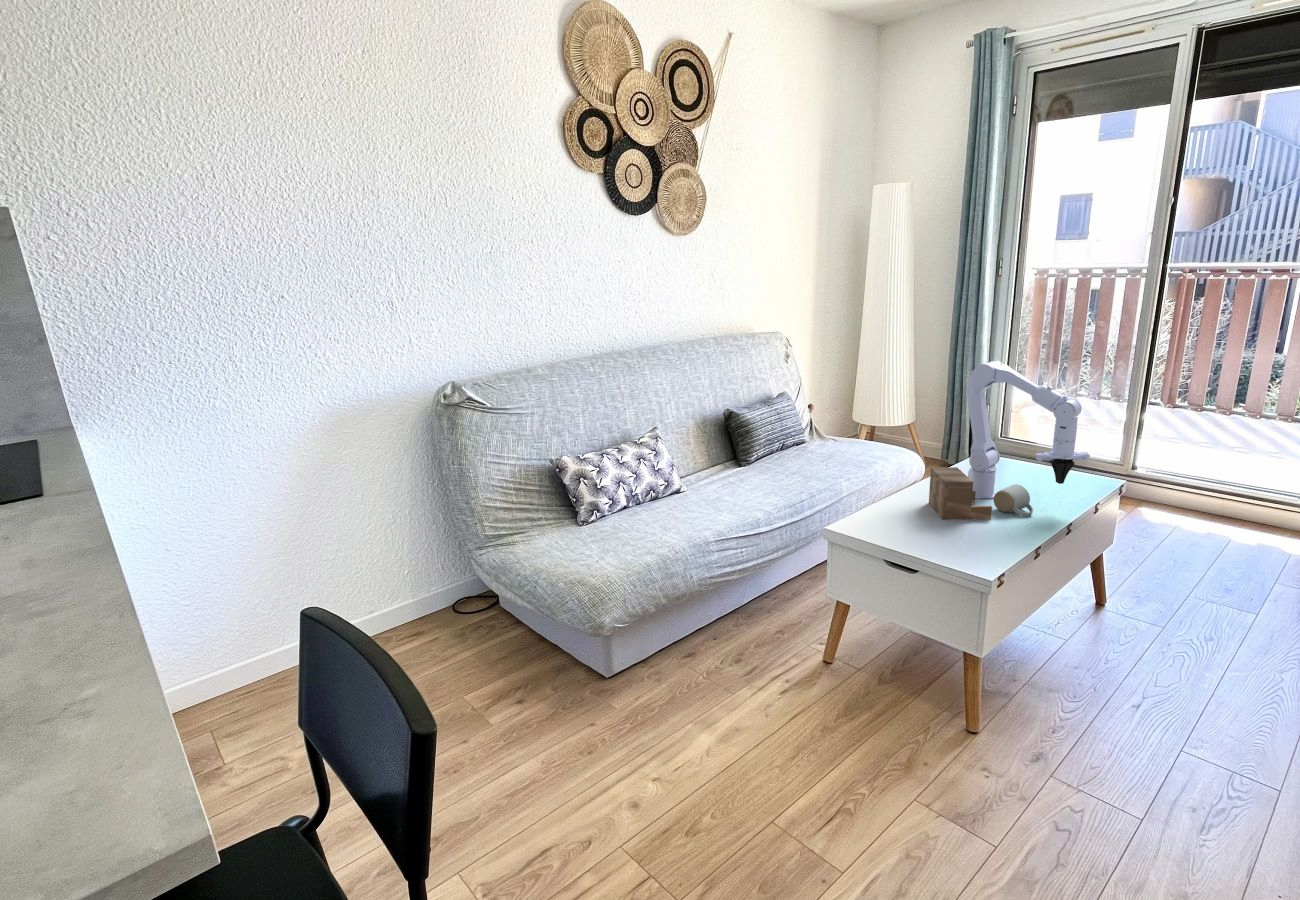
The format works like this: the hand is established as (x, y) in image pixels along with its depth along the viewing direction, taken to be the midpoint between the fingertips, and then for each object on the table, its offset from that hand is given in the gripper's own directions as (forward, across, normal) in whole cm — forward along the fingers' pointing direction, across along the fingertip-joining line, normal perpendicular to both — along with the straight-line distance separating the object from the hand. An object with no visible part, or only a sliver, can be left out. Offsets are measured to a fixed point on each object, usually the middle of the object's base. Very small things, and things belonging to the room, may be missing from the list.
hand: (1059, 482), depth 213 cm
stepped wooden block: (+9, -29, 0) cm, 30 cm away
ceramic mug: (+9, -13, -1) cm, 16 cm away
